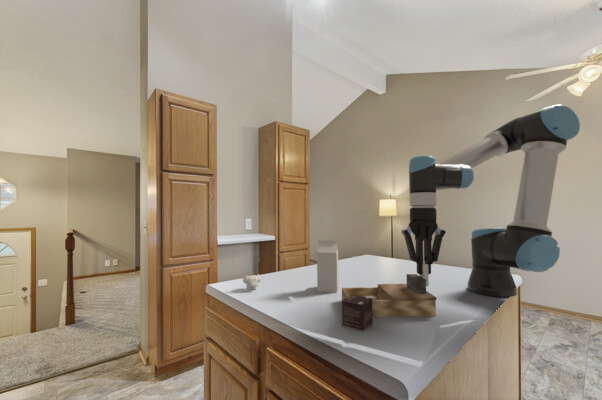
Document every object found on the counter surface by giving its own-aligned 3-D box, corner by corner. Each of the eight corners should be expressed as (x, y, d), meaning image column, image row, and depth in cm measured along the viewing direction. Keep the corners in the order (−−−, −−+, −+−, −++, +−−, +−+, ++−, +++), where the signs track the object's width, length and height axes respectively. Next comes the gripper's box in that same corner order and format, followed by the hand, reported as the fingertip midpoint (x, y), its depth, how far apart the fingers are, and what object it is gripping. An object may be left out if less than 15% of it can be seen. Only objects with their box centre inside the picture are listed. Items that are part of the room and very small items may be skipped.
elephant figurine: (245, 293, 105) (245, 277, 106) (240, 288, 113) (240, 272, 113) (263, 291, 108) (263, 275, 109) (257, 286, 116) (257, 271, 116)
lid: (414, 286, 94) (414, 271, 95) (436, 300, 80) (436, 282, 80) (377, 286, 94) (377, 271, 94) (392, 300, 79) (392, 283, 80)
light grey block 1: (372, 302, 91) (372, 295, 91) (377, 305, 89) (377, 297, 89) (364, 303, 90) (364, 296, 90) (369, 306, 88) (368, 299, 88)
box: (352, 321, 78) (351, 294, 78) (373, 326, 75) (372, 298, 75) (341, 329, 73) (341, 300, 74) (363, 334, 70) (363, 304, 70)
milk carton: (337, 294, 103) (336, 241, 103) (317, 293, 104) (316, 241, 105) (338, 289, 110) (337, 239, 110) (320, 288, 111) (319, 239, 112)
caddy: (415, 302, 94) (414, 286, 94) (435, 318, 80) (435, 300, 80) (341, 303, 93) (341, 287, 94) (349, 319, 79) (349, 301, 80)
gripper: (437, 207, 92) (439, 281, 91) (397, 207, 92) (398, 282, 91) (450, 207, 84) (452, 288, 83) (406, 207, 84) (407, 288, 83)
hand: (424, 284), depth 87 cm, fingers closed
